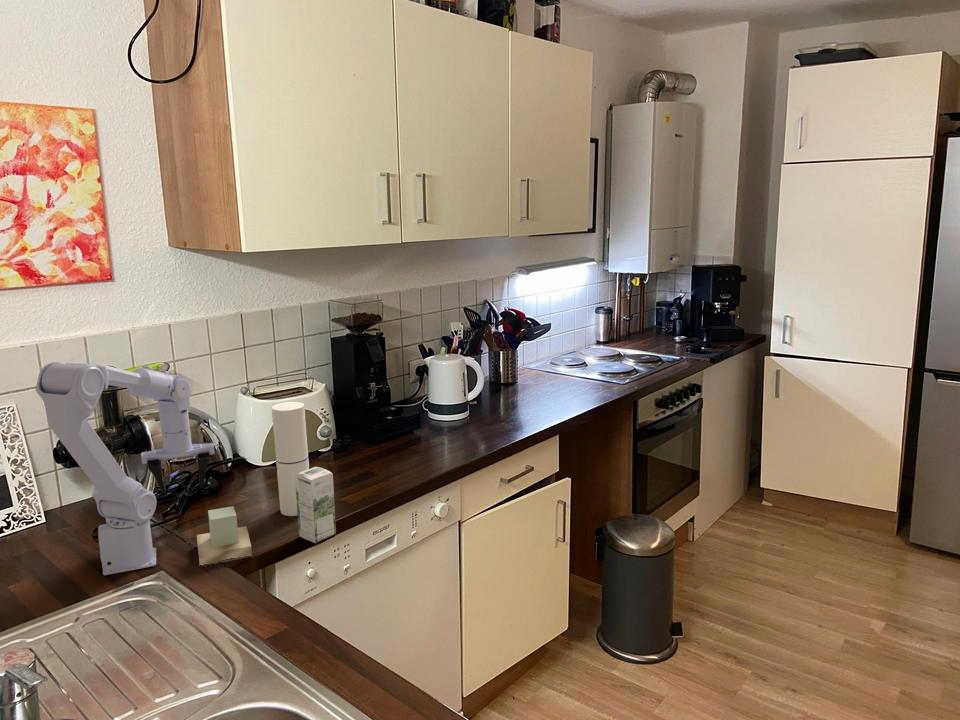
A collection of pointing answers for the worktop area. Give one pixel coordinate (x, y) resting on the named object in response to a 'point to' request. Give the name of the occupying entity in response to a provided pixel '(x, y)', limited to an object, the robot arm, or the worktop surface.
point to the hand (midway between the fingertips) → (182, 489)
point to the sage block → (223, 526)
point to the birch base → (223, 548)
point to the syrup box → (315, 504)
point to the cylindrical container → (289, 451)
